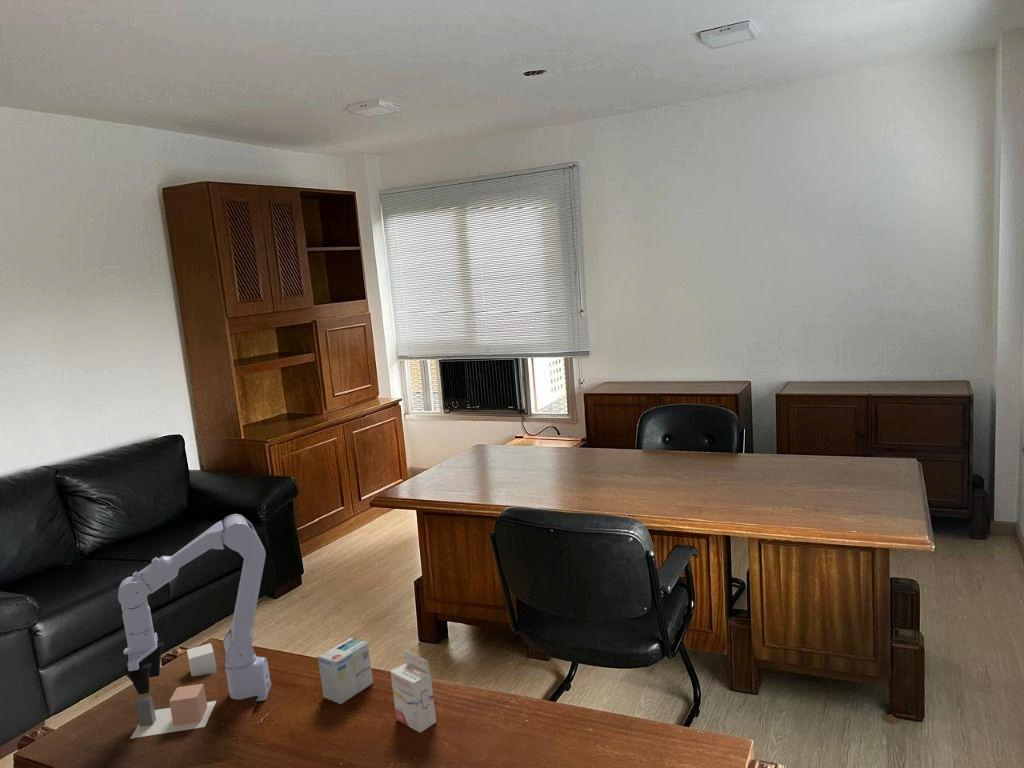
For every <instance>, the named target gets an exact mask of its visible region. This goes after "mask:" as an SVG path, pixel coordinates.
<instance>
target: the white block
mask: <svg viewBox="0 0 1024 768" xmlns="http://www.w3.org/2000/svg"><path fill="white" fill-rule="evenodd" d="M186 653H187V660H188V665H189V672H190V675H191V677H196V676H197V677H198V676H203V675H204V676H205V675H210V674H217V673H218V669H217V664H216V658H215V652H214V649H213V645H212V643H207V644H203V645H199V646H195V647H193V648H189V649H186Z"/></svg>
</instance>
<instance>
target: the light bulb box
mask: <svg viewBox="0 0 1024 768" xmlns="http://www.w3.org/2000/svg"><path fill="white" fill-rule="evenodd" d="M317 660H318V667H319V675H320V681H321V688H322V694H323V698H324V699H326V698H327V699H326V700H329V701H331V700H332V702H334V703H337V704H339V705H342V704H344V703H346V702H347V701H348V700H350V699H352V698H353V697H354V696H356V695H358V694H359V693H360V692H362V691H364V690H365V689H367V688H368V687H369V686H371V685H372V684H373V683H374V680H373V670H372V663H371V656H370V649H369V642H368V641H364V640H360V639H356V638H354V637H348V638H346V639H345V640H343V641H342V642H339V644H337V645H335V646H334V647H332V648H331V649H328V650H327V651H325V652H324V653H321V654H319V655H318V656H317Z"/></svg>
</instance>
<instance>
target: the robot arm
mask: <svg viewBox="0 0 1024 768" xmlns="http://www.w3.org/2000/svg"><path fill="white" fill-rule="evenodd" d="M224 545H225V546H226V547H227V548H228V549H230V550H232V551H235V552H237V553H239V555H240V556H241V557H242V558H243V563H242V569H241V574H240V578H239V579H240V580H239V584H238V588H237V596H236V599H235V600H236V601H235V606H234V612H233V616H232V619H231V620H232V621H231V622H230V627H229V628H228V631H227V633H225V636H224V637H223V641H222V643H223V647H224V651H225V661H224V668H225V674H226V681H227V688H228V693H229V698H231V699H233V700H244V699H245V700H246V699H248V698H252V697H256V696H257V697H256V699H255V702H256V703H257V702H262V701H263V702H264V701H266V700H267V698H268V695H269V692H270V689H271V686H272V682H271V681H272V680H271V676H270V669H269V662H268V659H267V657H265V656H257V655H256V653H255V650H254V647H253V636H254V622H255V618H256V617H255V616H256V611H257V604H258V601H259V596H260V595H259V594H260V588H261V583H262V579H263V572H264V569H265V567H264V566H265V562H266V556H267V553H266V552H267V551H266V549H265V547H264V545H263V543H262V541H261V539H260V537H259V536H258V534H257V531H256V530H255V528H254V525H253V524H252V523H251V522H250V521H249V520H248V519H247V517H245V516H243V515H242V514H239V513H233V514H230V515H227V516H225V517H224V519H222V520H219V521H218V522H215V524H213V525H211V526H210V527H209V528H208V529H206V530H205V531H204V532H202V533H201V534H199V535H198V536H197V537H195V538H193V540H191V541H190V542H188V543H187V544H186V545H185V546H184V547H182V548H181V549H179V550H178V551H177V552H175V553H174V554H172V555H170V556H169V555H162V556H160V557H159V558H158V557H157V556H156V557H154V558H153V559H152V560H151V563H149V564H148V565H147V566H146V567H144V568H143V569H141V570H139V571H135V572H134V573H132V576H127V577H126V578H124V579H123V580H122V581H121V582H120V584H119V587H118V593H117V599H118V602H119V604H120V605H121V607H120V608H121V611H122V621H123V625H124V632H125V637H126V643H127V647H126V648H124V650H123V651H122V652H123V655H128V656H127V657H128V662H127V665H125V666H124V667H123V671H122V672H123V674H124V675H125V676H126V677H128V679H129V680H130V681H131V683H132V684H133V687H134V688H135V690H136V693H138V695H139V696H140V695H145V694H148V693H149V692H150V678H153V677H154V678H155V677H159V676H160V671H161V660H162V659H161V658H162V654H163V649H164V646H165V643H164V642H162V641H160V642H158V641H159V638H158V632H155V630H154V623H153V619H152V613H151V607H150V605H149V602H148V596H149V595H151V594H154V593H155V592H156V591H157V590H159V589H160V588H162V587H163V586H165V585H166V584H168V583H170V582H171V581H172V580H174V579H175V578H177V577H178V575H179V570H180V568H182V567H183V566H185V565H186V564H188V563H190V562H192V561H193V560H195V559H196V558H197V557H200V556H201V555H203V554H204V553H206V552H207V551H209V550H225V548H224Z"/></svg>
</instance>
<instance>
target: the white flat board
mask: <svg viewBox="0 0 1024 768" xmlns="http://www.w3.org/2000/svg"><path fill="white" fill-rule="evenodd" d="M134 703H135V708H136V714H137V715H136V716H137V720H138V724H137V726H136V728H135V730H134V731H133V733H132V735H131V736H130V738H129V739H136V738H143V737H144V738H145V737H147V736H148V737H149V736H155V735H162V734H169V733H174V732H175V733H176V732H181V731H188V730H194V729H200V728H205V727H206V725H207V723H208V721H209V719H210V716H211V714H212V712H213V711H214V708H215V706H216V703H217V700H213V701H207V709H206V712H205V714H204V716H203V718H202V720H201V722H195V723H189V724H182V725H176V726H173V721H172V715H171V709H170V707H168V708H167V707H165V708H159V709H155V706H154V699H153V696H152V695H145V696H140V697H137V699H136V700H135V702H134Z"/></svg>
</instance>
